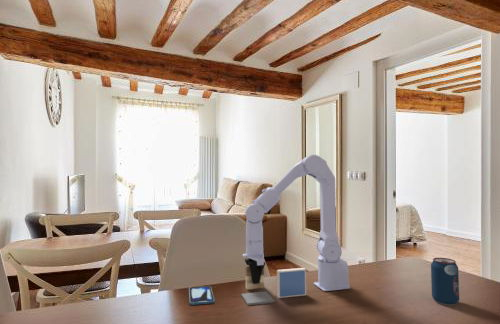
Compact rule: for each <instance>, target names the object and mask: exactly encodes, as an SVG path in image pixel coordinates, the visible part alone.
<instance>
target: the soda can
mask: <svg viewBox="0 0 500 324" xmlns="http://www.w3.org/2000/svg"><path fill="white" fill-rule="evenodd" d="M456 261H457V260H455V259H451V258H446V257H434V258H432V262H431V263H430V275H431V276H430V277H431V280H430V283H431V284H430V285H431V297H432V299H433V300H434V301H435V303H437V304H439V305H444V306H456V305H458V303H459V302H460V283H459V282H460V278H459V266H458V264H457V263H456Z"/></svg>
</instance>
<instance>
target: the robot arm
mask: <svg viewBox="0 0 500 324" xmlns="http://www.w3.org/2000/svg"><path fill="white" fill-rule="evenodd" d="M305 176H310V177H312V178H313V179H315V180H316V181H317V182H318V183H319V193H320V195H319V199H320V203H319V204H320V206H319V207H320V214H319V215H320V231H319V233H318V240H317V242H316V249H317V252H318V253H319V255H318V256H317V275H318V276H317V278H318V279H317V280H318V281H314V282H313V285H315V286H316V287H317V288H319V289H320V290H321V291H323V292H329V291H330V292H331V291H340V290H349V289H351V286H350V275H349V273H350V272H349V271H350V270H349V265H348V262H347V261H346V259H344V258H341V256H342V252H343V251H342V247H341V246H340V242H339V241H340V240H339V235H338V233H337V214H336V213H337V211H336V209H337V208H336V207H337V206H336V199H337V198H336V177H335V175H334V173H333V171H332V170H331V169H330V167H329V165H328V164H327V161H326V160H325V159H323V158H322V157H321V156H319V155H318V154H311V155H309V156H305V157H304V158H302V160H301V161H298V162H297V163H296V164H295V165H293V166H292V167H291V168H290V169H289V170H288V171H287V172H286V173H285V174H284V175H283V176H282V178H281V179H280V180H279V181H278V182H277V183H276V184H275V185H274V186H273V187H271V186H270V187H267V188H263V189H262V190H261V192H262V193H261V194H260V195H259V196H258V197H256V198H255V199H253V200H252V201H251V203H252V204H249V205H247V207H246V209H245V213H244V214H245V218H246V222H245V225H246V226H245V253H242V257H243V258H245V259H244V262H245V265H249V267H250V271H251V276H252V282H253V284H257V283H259V282H260V278H261V273H262V270H263V268H264V269H265V266H266V262H265V259H264V257H265V254H264V226H263V219H264V216H265V214H266V213H268V212H270V210H271V209H272V208H273V207H274V206H275V205H276V204H277V203H278V202H279V201H280V200H281V193H283V192H284V191H285V190H286V189H287V188H288V187H289V186H290V185H291V184H292V183H293V182H295V180H297V179H299V178H301V177H305Z"/></svg>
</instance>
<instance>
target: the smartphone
mask: <svg viewBox="0 0 500 324" xmlns="http://www.w3.org/2000/svg"><path fill="white" fill-rule="evenodd" d="M188 296H189V297H188V301H189V305H191V306H197V305H209V304H215V296H214V293H213V289H212V286H210V285H206V286H205V285H204V286H190V287H188Z"/></svg>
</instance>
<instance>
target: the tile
mask: <svg viewBox="0 0 500 324" xmlns="http://www.w3.org/2000/svg"><path fill="white" fill-rule="evenodd" d="M306 271H307V269H306V268H305V267H297V268H287V269H286V268H285V269H283V268H282V269H277V270H276V297H277V298H278V299H281V298H282V299H283V298H292V297H300V296H307V272H306Z"/></svg>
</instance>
